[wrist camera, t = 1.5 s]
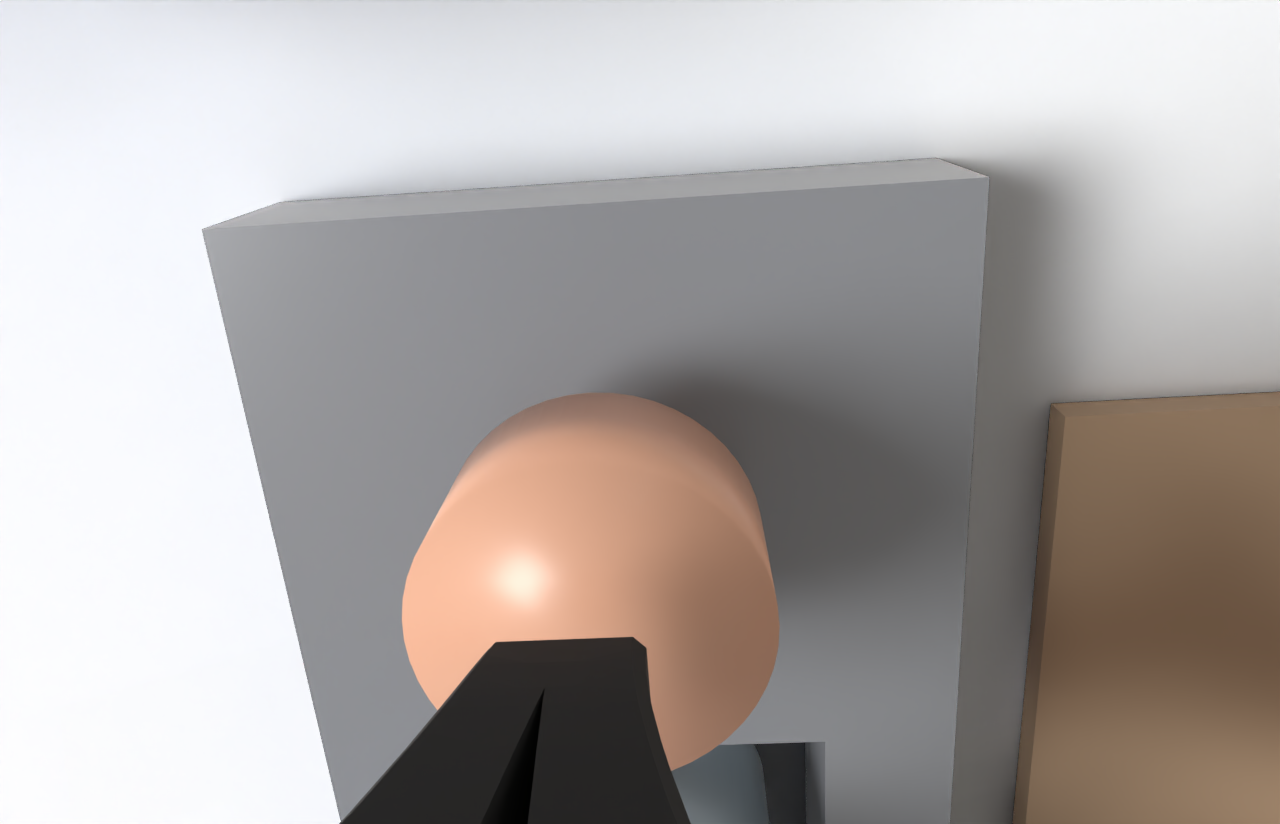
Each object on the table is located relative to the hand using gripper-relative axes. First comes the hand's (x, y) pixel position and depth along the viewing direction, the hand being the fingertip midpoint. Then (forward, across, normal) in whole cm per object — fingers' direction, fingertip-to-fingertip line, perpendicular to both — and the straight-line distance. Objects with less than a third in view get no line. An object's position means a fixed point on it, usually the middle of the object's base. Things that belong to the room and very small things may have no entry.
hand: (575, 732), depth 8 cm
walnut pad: (+8, -11, +5) cm, 14 cm away
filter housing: (+8, 0, +4) cm, 9 cm away
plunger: (+4, 0, 0) cm, 4 cm away
